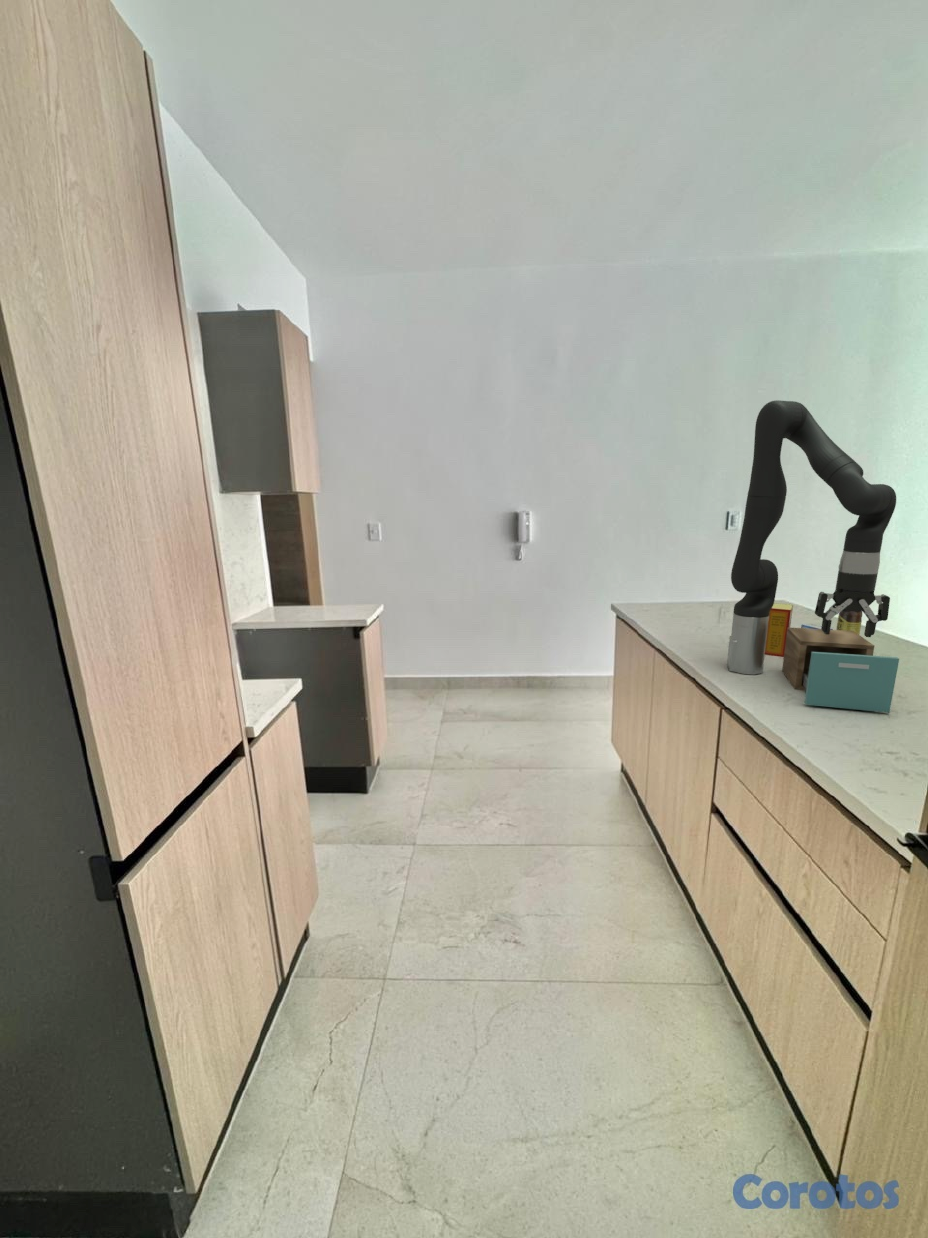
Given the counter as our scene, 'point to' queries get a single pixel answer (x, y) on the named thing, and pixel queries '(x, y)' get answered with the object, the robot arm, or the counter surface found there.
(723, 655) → the counter surface
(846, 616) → the sauce bottle
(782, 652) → the baking soda box
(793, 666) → the cabinet
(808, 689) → the drawer
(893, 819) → the counter surface
